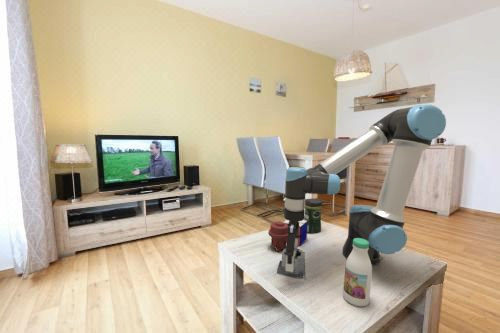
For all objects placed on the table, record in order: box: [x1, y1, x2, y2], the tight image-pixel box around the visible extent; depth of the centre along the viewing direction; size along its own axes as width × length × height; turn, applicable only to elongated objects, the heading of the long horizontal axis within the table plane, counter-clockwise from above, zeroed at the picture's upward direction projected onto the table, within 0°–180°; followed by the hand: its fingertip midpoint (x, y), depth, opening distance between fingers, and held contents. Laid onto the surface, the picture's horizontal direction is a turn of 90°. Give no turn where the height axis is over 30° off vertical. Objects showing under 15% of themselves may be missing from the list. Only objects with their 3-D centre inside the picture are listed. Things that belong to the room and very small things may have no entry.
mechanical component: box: [268, 220, 288, 252], centre depth 108 cm, size 12×10×10 cm
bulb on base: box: [276, 249, 306, 279], centre depth 89 cm, size 10×7×8 cm
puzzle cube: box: [282, 219, 308, 247], centre depth 116 cm, size 10×10×10 cm
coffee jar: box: [303, 197, 323, 234], centre depth 129 cm, size 10×8×19 cm
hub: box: [281, 247, 306, 274], centre depth 89 cm, size 8×8×6 cm
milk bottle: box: [342, 238, 373, 307], centre depth 74 cm, size 8×8×20 cm
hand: (291, 261), depth 89 cm, fingers open, 13 cm apart
